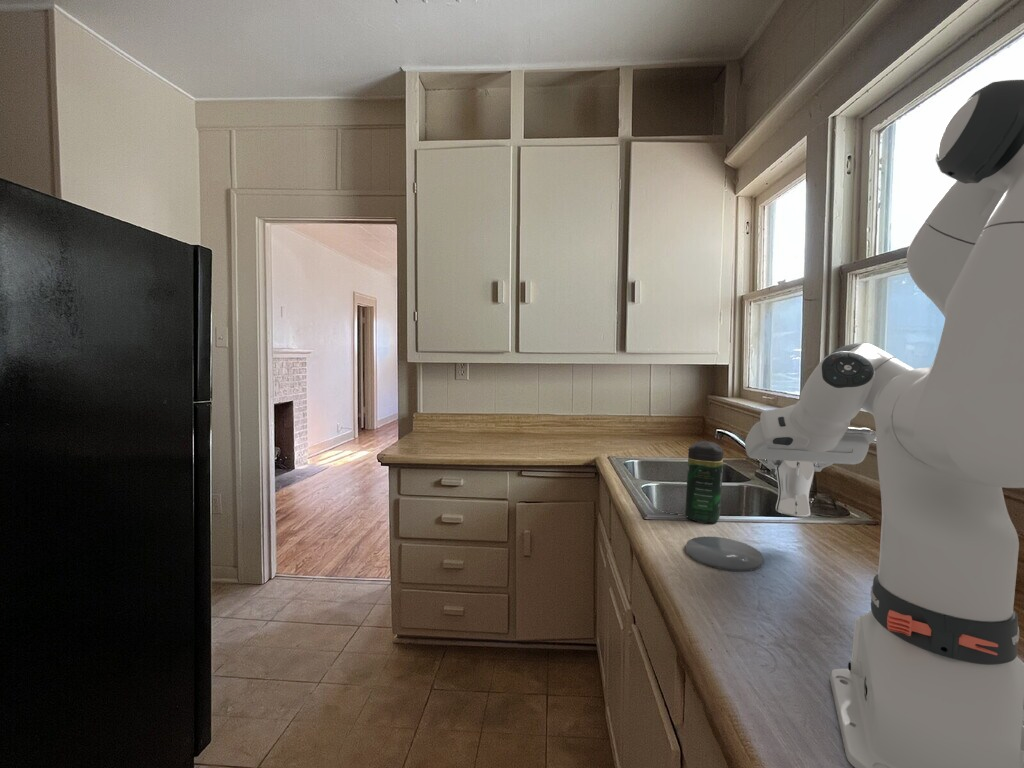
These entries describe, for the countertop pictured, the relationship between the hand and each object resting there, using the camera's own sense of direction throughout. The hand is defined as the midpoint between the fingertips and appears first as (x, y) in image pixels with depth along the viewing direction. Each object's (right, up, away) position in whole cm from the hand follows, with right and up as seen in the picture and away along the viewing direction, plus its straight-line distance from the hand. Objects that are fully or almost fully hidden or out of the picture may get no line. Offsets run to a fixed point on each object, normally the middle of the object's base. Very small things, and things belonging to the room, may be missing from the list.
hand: (793, 467), depth 98 cm
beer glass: (0, -9, 0) cm, 9 cm away
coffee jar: (-10, -16, +20) cm, 28 cm away
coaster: (-15, -17, -2) cm, 23 cm away
